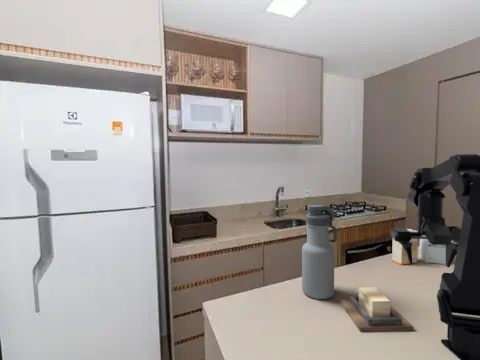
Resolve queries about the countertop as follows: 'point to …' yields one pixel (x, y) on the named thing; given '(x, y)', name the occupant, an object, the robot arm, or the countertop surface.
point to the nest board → (374, 318)
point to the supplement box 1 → (400, 254)
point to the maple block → (374, 302)
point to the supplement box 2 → (432, 252)
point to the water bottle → (318, 253)
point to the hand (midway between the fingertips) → (428, 265)
